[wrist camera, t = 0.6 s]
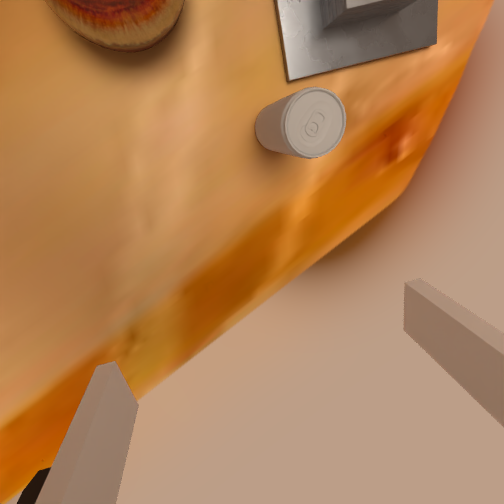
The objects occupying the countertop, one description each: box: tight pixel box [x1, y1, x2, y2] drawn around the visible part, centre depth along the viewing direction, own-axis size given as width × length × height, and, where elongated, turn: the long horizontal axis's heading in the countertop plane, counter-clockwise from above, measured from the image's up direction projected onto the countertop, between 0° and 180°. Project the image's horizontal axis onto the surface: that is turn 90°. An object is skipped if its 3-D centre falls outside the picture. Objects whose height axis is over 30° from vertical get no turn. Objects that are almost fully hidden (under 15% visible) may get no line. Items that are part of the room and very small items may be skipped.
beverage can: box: [255, 87, 346, 159], centre depth 26 cm, size 5×5×12 cm
